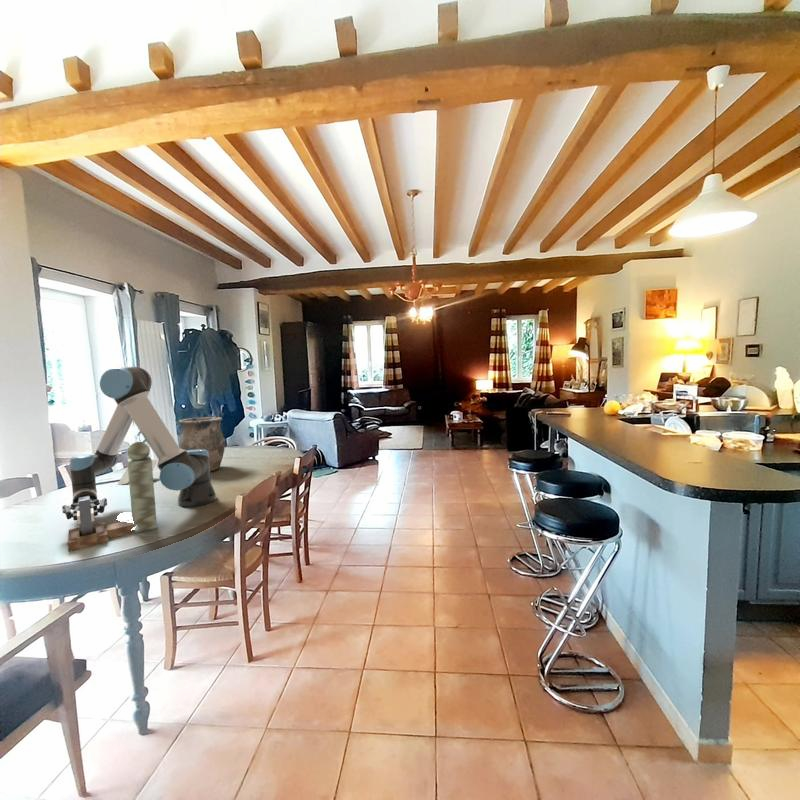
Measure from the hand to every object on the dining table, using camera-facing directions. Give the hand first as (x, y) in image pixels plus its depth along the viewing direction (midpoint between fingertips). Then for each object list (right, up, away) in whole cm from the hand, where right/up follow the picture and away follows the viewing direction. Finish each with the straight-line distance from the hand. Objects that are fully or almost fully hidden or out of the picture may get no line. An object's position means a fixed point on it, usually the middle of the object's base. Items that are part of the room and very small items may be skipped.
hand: (85, 518), depth 139 cm
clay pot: (-6, 0, +96) cm, 97 cm away
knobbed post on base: (+3, -8, +10) cm, 13 cm away
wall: (-31, -3, +78) cm, 84 cm away
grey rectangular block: (-3, -7, +5) cm, 9 cm away
